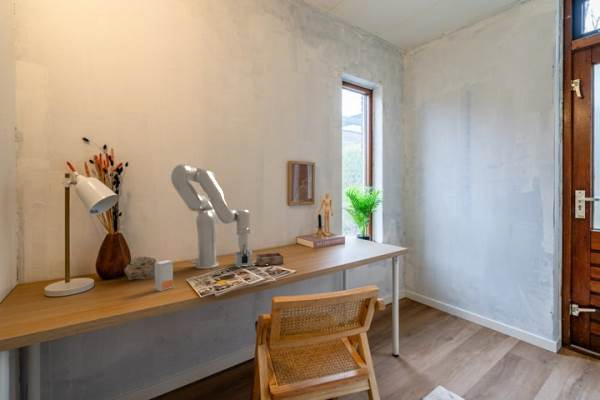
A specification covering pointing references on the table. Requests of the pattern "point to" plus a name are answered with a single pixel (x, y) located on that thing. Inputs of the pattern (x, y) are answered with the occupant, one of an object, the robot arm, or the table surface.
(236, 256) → the crate small
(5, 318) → the table surface
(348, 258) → the table surface
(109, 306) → the table surface
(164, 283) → the skincare box
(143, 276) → the rock
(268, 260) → the crate large
